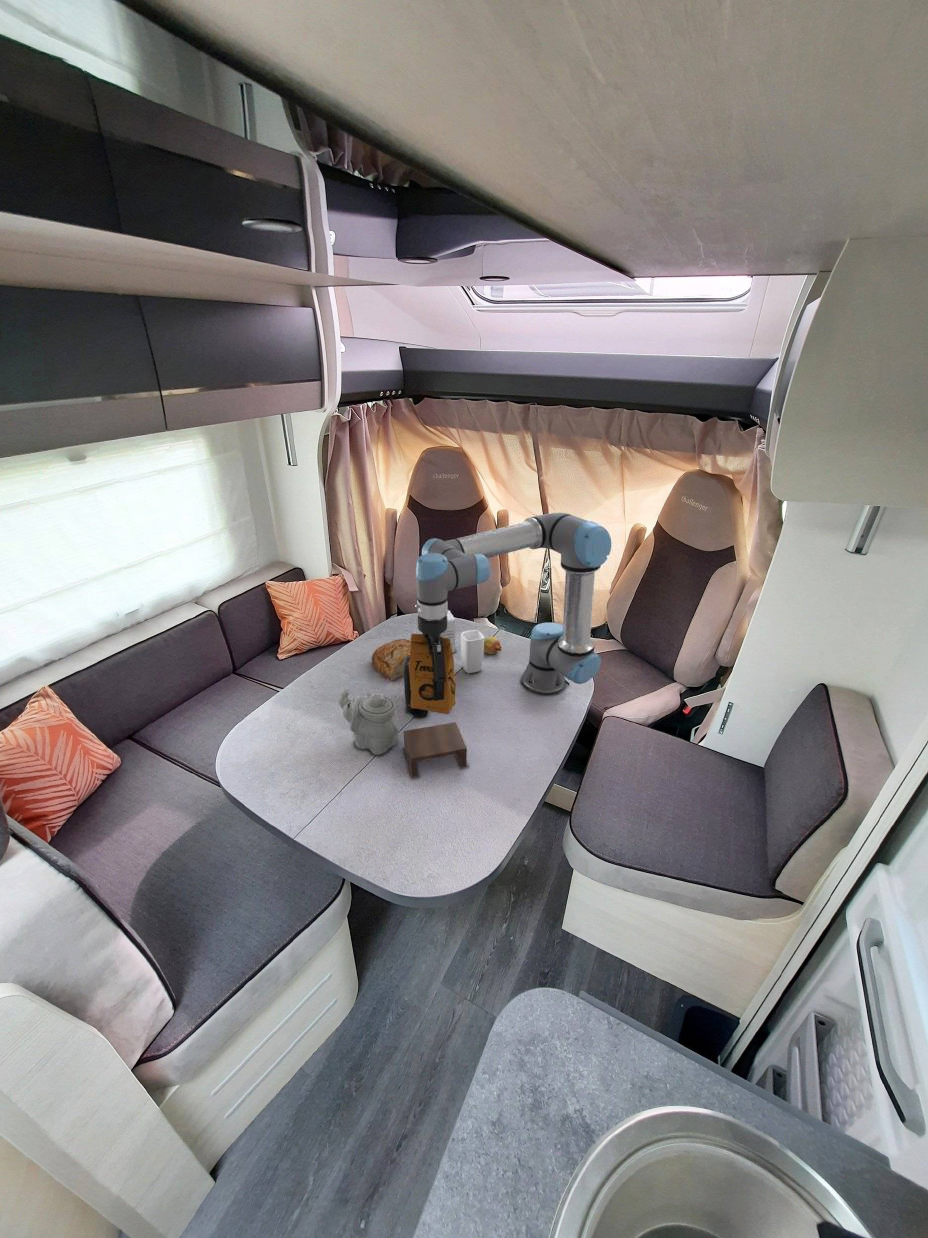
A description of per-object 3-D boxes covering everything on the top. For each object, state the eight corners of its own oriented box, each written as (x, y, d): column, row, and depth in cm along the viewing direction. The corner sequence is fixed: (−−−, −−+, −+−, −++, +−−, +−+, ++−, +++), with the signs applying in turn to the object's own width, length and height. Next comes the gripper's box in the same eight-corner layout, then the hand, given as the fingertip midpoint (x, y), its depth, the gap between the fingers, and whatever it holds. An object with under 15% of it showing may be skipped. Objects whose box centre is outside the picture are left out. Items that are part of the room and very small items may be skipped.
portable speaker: (412, 722, 165) (409, 671, 156) (401, 706, 172) (398, 657, 163) (436, 714, 168) (435, 664, 159) (424, 699, 176) (422, 650, 166)
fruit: (475, 639, 202) (494, 647, 196) (486, 629, 206) (505, 637, 199) (477, 652, 206) (496, 660, 200) (488, 642, 210) (507, 650, 204)
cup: (484, 672, 191) (485, 638, 184) (466, 676, 189) (467, 641, 182) (476, 662, 197) (477, 629, 190) (459, 666, 195) (459, 632, 188)
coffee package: (449, 720, 135) (449, 649, 125) (405, 711, 139) (402, 641, 128) (460, 699, 144) (461, 630, 134) (419, 691, 147) (417, 623, 137)
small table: (455, 740, 157) (455, 722, 154) (466, 767, 147) (466, 748, 144) (404, 749, 153) (403, 731, 150) (411, 777, 143) (411, 758, 140)
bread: (389, 684, 183) (388, 660, 179) (363, 663, 196) (361, 640, 191) (434, 664, 195) (434, 641, 191) (407, 645, 208) (406, 624, 203)
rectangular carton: (428, 644, 209) (427, 612, 202) (449, 641, 211) (449, 609, 204) (433, 656, 201) (433, 622, 194) (455, 652, 203) (456, 619, 197)
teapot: (341, 731, 160) (335, 681, 152) (388, 719, 166) (385, 670, 157) (353, 765, 147) (347, 713, 138) (403, 751, 152) (401, 700, 144)
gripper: (409, 597, 138) (411, 665, 148) (428, 639, 117) (429, 715, 127) (436, 594, 140) (436, 661, 150) (459, 635, 119) (458, 710, 129)
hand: (433, 686), depth 139 cm, fingers closed on coffee package, 11 cm apart
